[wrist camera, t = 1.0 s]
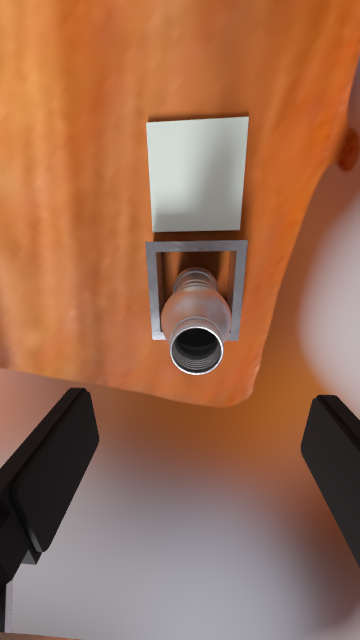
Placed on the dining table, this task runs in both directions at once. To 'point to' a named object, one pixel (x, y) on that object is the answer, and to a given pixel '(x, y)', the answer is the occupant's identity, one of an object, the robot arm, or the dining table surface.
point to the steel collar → (156, 248)
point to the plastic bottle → (196, 322)
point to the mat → (197, 173)
